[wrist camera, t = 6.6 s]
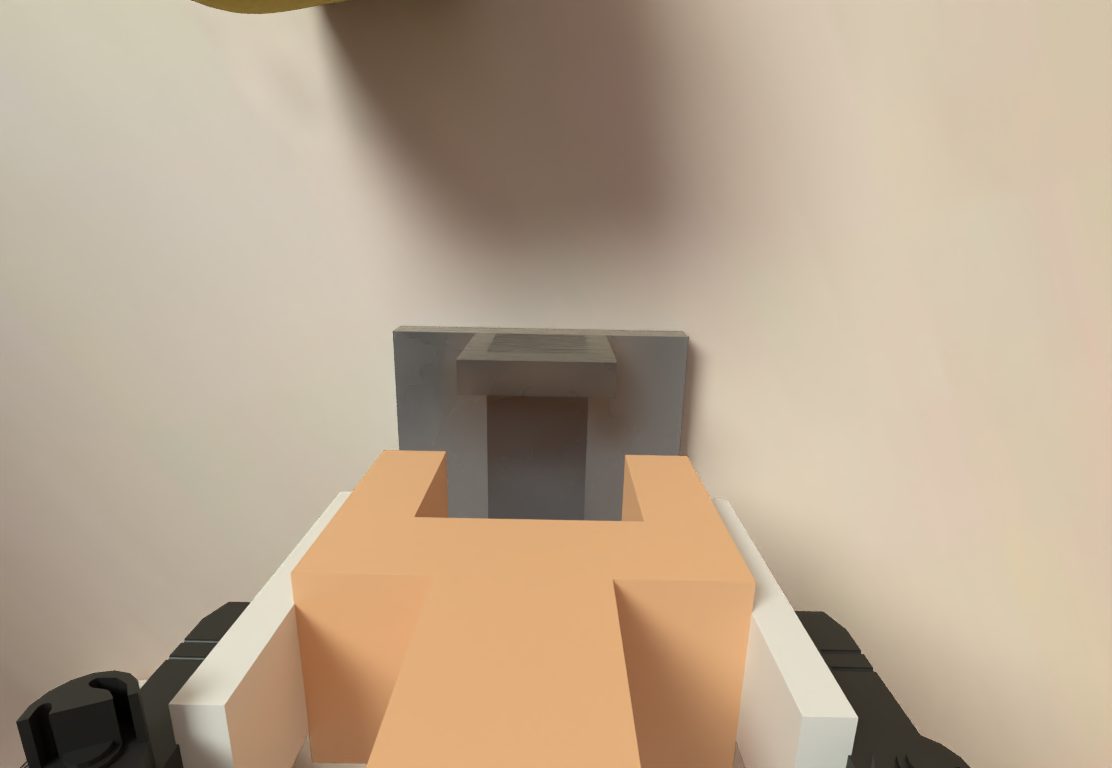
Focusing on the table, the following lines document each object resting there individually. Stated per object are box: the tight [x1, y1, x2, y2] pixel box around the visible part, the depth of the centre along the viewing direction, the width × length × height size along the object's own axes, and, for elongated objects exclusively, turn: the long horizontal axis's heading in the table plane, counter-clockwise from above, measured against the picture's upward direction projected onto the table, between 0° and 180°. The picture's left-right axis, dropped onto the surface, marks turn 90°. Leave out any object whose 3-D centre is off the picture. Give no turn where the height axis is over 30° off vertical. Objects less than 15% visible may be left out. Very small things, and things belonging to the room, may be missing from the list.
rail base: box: [393, 326, 689, 521], centre depth 18 cm, size 10×20×12 cm, turn 179°
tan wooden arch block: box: [290, 450, 756, 768], centre depth 10 cm, size 8×5×12 cm, turn 89°
